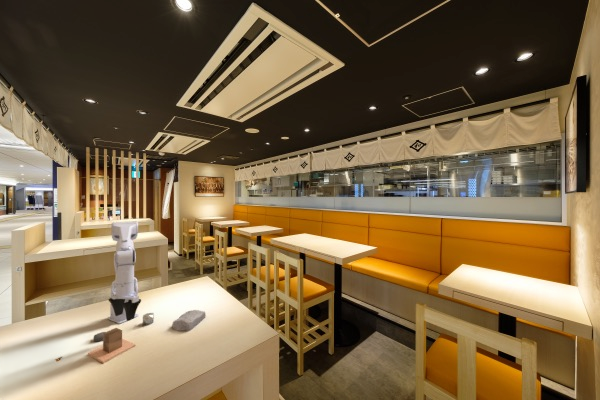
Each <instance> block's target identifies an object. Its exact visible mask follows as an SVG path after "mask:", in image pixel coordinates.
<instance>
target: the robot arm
mask: <svg viewBox="0 0 600 400" xmlns="http://www.w3.org/2000/svg"><path fill="white" fill-rule="evenodd" d="M110 231H111V239H112V241H115V242H116V244H115V253H114V254H113V265H114V272H115V279H114V280H113V281H112V282H111V286H110V297H109V298H108V302H109V303H110V313H109V314H110V317H108V318H107V319H108V320H109V321H112V322H114V323H117V324H123V323H125V322H129V321H131V320H134V319H135V318H137V317H138V316H139V314H138V313H136V312H137V310H138V307H139V306H140V304H141V302H142V299H141V298H140V295H138V294H139V283H138V279H137V277H135V265H136V260H137V257H136V256H137V254H136V253H137V252H136V249H135V245H134V240H137V238H138V233H139V222H138V221H136V220H135V221H118V222H117V221H116V222H115V221H113V222H112V223H111V228H110Z"/></svg>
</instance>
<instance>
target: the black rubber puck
mask: <svg viewBox="0 0 600 400" xmlns="http://www.w3.org/2000/svg"><path fill="white" fill-rule="evenodd" d="M105 332H106V331H103V332H98V333H96V334H94V335H93V339H92V340H93V342H101V341H103V333H105Z"/></svg>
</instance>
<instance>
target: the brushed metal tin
mask: <svg viewBox="0 0 600 400" xmlns="http://www.w3.org/2000/svg"><path fill="white" fill-rule="evenodd" d="M154 317H155V314H154V312H149V313H145V314H143V315H142V326H149V325H152V324H153V323H154V319H155V318H154Z"/></svg>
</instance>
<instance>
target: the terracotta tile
mask: <svg viewBox="0 0 600 400" xmlns="http://www.w3.org/2000/svg"><path fill="white" fill-rule="evenodd" d="M136 346H137V345H136V344H135V343H133V342H130V341H129V340H126V339H125V338H122V347H121V348H119V349H117V350H115V351H113V352H111V353H108V352H106V351H104V350H103V345H101V346H100V347H97V348H95V349H93V350H90V351H89V352H87V355H88V356H89V357H91V358H92V359H95V360H97V361H98V362H100V363H102V364H104V363H107V362H109V361H110V360H112V359H114V358H116V357H118V356H119V355H122V354H123V353H125V352H128V351H129V350H131V349H133V348H135V347H136Z"/></svg>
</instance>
